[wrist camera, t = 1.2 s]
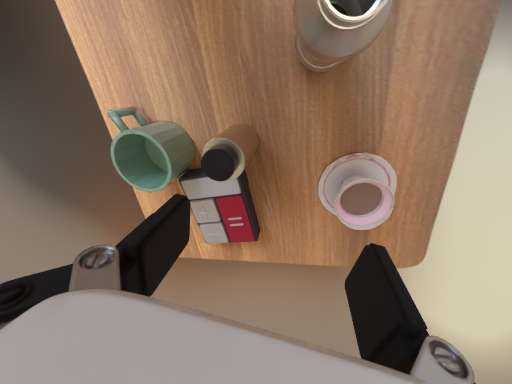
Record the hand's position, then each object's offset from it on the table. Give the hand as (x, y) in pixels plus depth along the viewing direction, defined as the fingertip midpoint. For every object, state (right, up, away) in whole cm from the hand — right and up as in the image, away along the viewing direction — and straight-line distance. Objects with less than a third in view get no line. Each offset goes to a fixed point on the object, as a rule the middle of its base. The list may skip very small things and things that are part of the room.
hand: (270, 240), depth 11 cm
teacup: (+16, +4, +24) cm, 29 cm away
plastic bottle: (+8, +22, +16) cm, 28 cm away
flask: (-3, +11, +24) cm, 26 cm away
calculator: (-7, +1, +30) cm, 31 cm away
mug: (-17, +12, +26) cm, 33 cm away
